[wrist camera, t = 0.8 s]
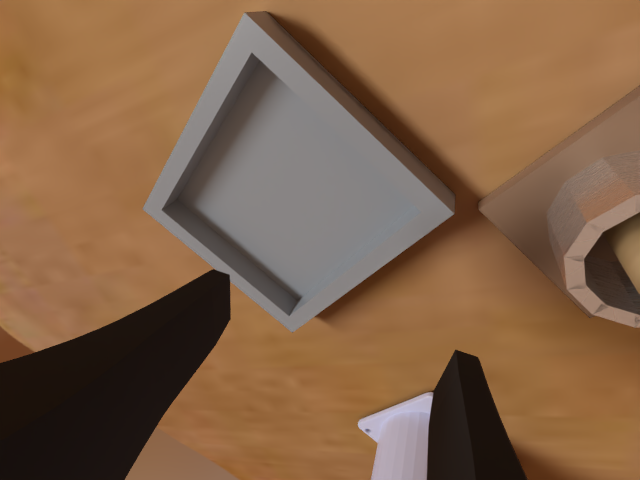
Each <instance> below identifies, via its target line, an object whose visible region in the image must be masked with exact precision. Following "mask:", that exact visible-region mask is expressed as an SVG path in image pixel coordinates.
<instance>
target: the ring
mask: <svg viewBox="0 0 640 480" xmlns="http://www.w3.org/2000/svg"><path fill="white" fill-rule="evenodd" d="M639 212H640V150H638V151H633V152H628V153H623V154H618V155H613V156H608V157H603V158H601V159H600V160H598V161H597V162H595V163H593V164H592V165H590V166H589V167H587V168H586V169H584V170H583V171H581V172H580V173H578V174H577V175H575V176H574V177H572V178H570V179H569V180H567V181H566V182H565V183H564V184H563V186H562V188H561V189H560V191H559V193H558V195H557V196H556V198H555V200H554V201H553V203H552V205H551V206H550V208H549V210H548V212H547V220H548V230H549V239H550V244H551V246H552V249H553V252H554V255H555V258H556V260H557V263H558V266H559V269H560V272H561V275H562V277H563V280H564V283H565V286H566V289H567V290H568V291H569V292H570V293H571V294H572V295H573V296H574V297H575V298H576V299H577V300H578V301H579V302H580V303H581V304H582V305H583V306H584V307H585V308H586V309H587V310H588V311H589V312H590V313H591V314H592V315H595V316H599V317H602V318H605V319H608V320H612V321H615V322H618V323H622V324H625V325H628V326H631V327H635V328H636V327H640V295H639V293H638V291H637V290H636V288H635V286H634V285H633V283H632V281H631V280H630V278H629V276H628V275H627V273H626V271H625V270H624V268H623V266H622V265H621V263H620V261H613V262H609V261H606V260H602V259H599V258H595V257H592V256H588V255H587V254H588V252H589V251H590V250H591V248H592V247H593V245H594V244H595V243H596V241H597V240H598V238H599V237H600V236H601V234H602V233H603V232H604V231H606V230H608V229H609V228H611V227H613V226H615V225H617V224H619V223H621V222H622V221H624V220H626V219H628V218H630V217H632V216H634V215H635V214H637V213H639Z"/></svg>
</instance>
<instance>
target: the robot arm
mask: <svg viewBox="0 0 640 480" xmlns="http://www.w3.org/2000/svg"><path fill="white" fill-rule="evenodd" d="M230 319H231V318H230V275H229V274H226V273H223V272H220V271H217V270H214V269H213V270H211V271H209V272H207V273H205V274H203V275H202V276H200V277H198V278H196V279H195V280H193V281H191V282H189V283H188V284H186V285H184V286H182V287H181V288H179V289H177V290H175V291H173V292H172V293H170V294H168V295H166V296H164V297H163V298H161V299H159V300H157V301H155V302H153V303H151V304H150V305H148V306H146V307H144V308H142V309H140V310H138V311H136V312H134V313H132V314H130V315H128V316H126V317H124V318H122V319H120V320H118V321H115V322H113V323H111V324H109V325H106V326H104V327H102V328H100V329H97V330H95V331H92V332H90V333H87V334H85V335H83V336H80V337H77V338H75V339H72V340H70V341H67V342H64V343H61V344H58V345H55V346H52V347H50V348H47V349H44V350H41V351H38V352H35V353H32V354H29V355H26V356H23V357H20V358H17V359H13V360H10V361H6V362H3V363H0V480H125V478H126V476H127V474H128V473H129V471H130V469H131V468H132V466H133V464H134V462H135V461H136V459H137V457H138V456H139V454H140V452H141V451H142V449H143V447H144V446H145V444H146V442H147V441H148V439H149V438H150V436H151V434H152V433H153V431H154V429H155V428H156V426H157V425H158V423H159V421H160V420H161V418H162V417H163V415H164V414H165V412H166V411H167V409H168V408H169V406H170V405H171V404H172V402H173V401H174V400H175V398H176V397H177V396H178V394H179V393H180V392H181V390H182V389H183V388H184V386H185V385H186V384H187V382H188V381H189V380H190V378H191V377H192V376H193V374H194V373H195V372H196V370H197V369H198V368H199V367H200V365H201V364H202V363H203V361H204V360H205V358H206V357H207V356H208V354H209V353H210V352H211V350H212V349H213V348H214V346H215V345H216V343H217V341H218V340H219V338H220V336H221V335H222V333H223V331H224V329H225V328H226V326H227V324H228V322H229V320H230ZM358 427H359V428H360V429H361V430H362V431H364V432H365V433H366V434H367V435H369V436H370V437H371V438H372V439H374V440H375V441H376V442H377V443H378V446H377V451H376V456H375V462H374V467H373V472H372V477H371V480H528V479H527V477H526V475H525V473H524V471H523V469H522V467H521V464H520V462H519V460H518V458H517V456H516V454H515V451H514V449H513V447H512V445H511V442H510V440H509V438H508V435H507V433H506V430H505V428H504V426H503V423H502V421H501V418H500V416H499V413H498V411H497V408H496V406H495V403H494V400H493V398H492V395H491V392H490V390H489V387H488V384H487V381H486V378H485V375H484V372H483V369H482V366H481V363H480V361H479V359H478V357H476V356H473V355H470V354H467V353H464V352H461V351H458V350H455V352H454V354H453V356H452V357H451V359H450V361H449V363H448V365H447V367H446V369H445V371H444V373H443V374H442V376H441V378H440V380H439V382H438V384H437V386H436V388H435V390H434V392H428V393H425V394H422V395H420V396H417V397H415V398H412V399H410V400H407V401H405V402H402V403H400V404H397V405H395V406H393V407H390V408H388V409H385V410H383V411H380V412H378V413H375V414H373V415H370V416H368V417H365V418H363V419H360V420H359V422H358Z"/></svg>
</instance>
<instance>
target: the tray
mask: <svg viewBox="0 0 640 480" xmlns="http://www.w3.org/2000/svg"><path fill="white" fill-rule="evenodd" d="M143 210H144V211H146V212H147V213H148V214H149V215H150V216H152V217H153V218H154V219H155V220H156V221H158V222H159V223H160V224H161V225H163V226H164V227H165V228H166V229H167V230H169V231H170V232H171V233H172V234H173V235H175V236H176V237H177V238H178V239H180V240H181V241H182V242H183V243H184V244H186V245H187V246H188V247H189V248H190V249H192V250H193V251H194V252H195V253H196V254H198V255H199V256H200V257H201V258H203V259H204V260H205V261H206V262H207V263H209V264H210V265H211V266H212V267H213V268H215V269H216V270H217V271H220V272H223V273H226V274H229V275H230V282H232V283H233V284H234V285H235V286H237V287H238V288H239V289H240V290H241V291H243V292H244V293H245V294H246V295H247V296H249V297H250V298H251V299H252V300H253V301H255V302H256V303H257V304H258V305H260V306H261V307H262V308H263V309H264V310H266V311H267V312H268V313H269V314H270V315H272V316H273V317H274V318H275V319H277V320H278V321H279V322H280V323H281V324H283V325H284V326H285V327H286V328H287V329H289V330H290V331H291V332H292V333H293V332H294V331H295V330H297V329H298V328H299V327H301V326H302V325H303V324H305V323H306V322H308V321H309V320H310V319H312V318H313V317H314V316H316V315H317V314H318V313H320V312H321V311H323V310H324V309H325V308H327V307H328V306H329V305H331V304H332V303H333V302H335V301H336V300H338V299H339V298H340V297H342V296H343V295H344V294H346V293H347V292H348V291H350V290H351V289H353V288H354V287H355V286H357V285H358V284H359V283H361V282H362V281H363V280H365V279H366V278H368V277H369V276H370V275H372V274H373V273H374V272H376V271H377V270H378V269H380V268H381V267H383V266H384V265H385V264H387V263H388V262H389V261H391V260H392V259H393V258H395V257H396V256H398V255H399V254H400V253H402V252H403V251H404V250H406V249H407V248H408V247H410V246H411V245H413V244H414V243H415V242H417V241H418V240H419V239H421V238H422V237H424V236H425V235H426V234H428V233H429V232H430V231H432V230H433V229H434V228H436V227H437V226H439V225H440V224H441V223H443V222H444V221H445V220H447V219H448V218H449V217H451V216H452V215H454V212H455V194H454V193H453V192H452V191H451V190H450V189H449V188H448V187H447V186H446V185H445V184H444V183H443V182H442V181H441V180H440V179H439V178H437V177H436V176H435V175H434V174H433V173H432V172H431V171H430V170H429V169H428V168H427V167H426V166H425V165H424V164H423V163H422V162H421V161H420V160H419V159H418V158H417V157H416V156H415V155H414V154H413V153H412V152H411V151H410V150H409V149H408V148H407V147H406V146H404V145H403V144H402V143H401V142H400V141H399V140H398V139H397V138H396V137H395V136H394V135H393V134H392V133H391V132H390V131H389V130H388V129H387V128H386V127H385V126H384V125H383V124H382V123H381V122H380V121H379V120H378V119H377V118H376V117H375V116H374V115H373V114H371V113H370V112H369V111H368V110H367V109H366V108H365V107H364V106H363V105H362V104H361V103H360V102H359V101H358V100H357V99H356V98H355V97H354V96H353V95H352V94H351V93H350V92H349V91H348V90H347V89H346V88H345V87H344V86H343V85H342V84H341V83H340V82H339V81H337V80H336V79H335V78H334V77H333V76H332V75H331V74H330V73H329V72H328V71H327V70H326V69H325V68H324V67H323V66H322V65H321V64H320V63H319V62H318V61H317V60H316V59H315V58H314V57H313V56H312V55H311V54H310V53H309V52H308V51H307V50H306V49H304V48H303V47H302V46H301V45H300V44H299V43H298V42H297V41H296V40H295V39H294V38H293V37H292V36H291V35H290V34H289V33H288V32H287V31H286V30H285V29H284V28H283V27H282V26H281V25H280V24H279V23H278V22H277V21H276V20H275V19H274V18H273V17H271V16H270V15H269V14H268V13H267V12H266V11H262V12H245V13H244V15H243V16H242V18H241V20H240V22H239V24H238V26H237V28H236V30H235V32H234V34H233V36H232V38H231V40H230V42H229V43H228V45H227V47H226V49H225V51H224V53H223V55H222V57H221V59H220V61H219V63H218V65H217V67H216V68H215V70H214V72H213V74H212V76H211V78H210V80H209V82H208V84H207V86H206V88H205V90H204V92H203V94H202V95H201V97H200V99H199V101H198V103H197V105H196V107H195V109H194V111H193V113H192V115H191V117H190V119H189V120H188V122H187V124H186V126H185V128H184V130H183V132H182V134H181V136H180V138H179V140H178V142H177V144H176V146H175V147H174V149H173V151H172V153H171V155H170V157H169V159H168V161H167V163H166V165H165V167H164V169H163V171H162V173H161V174H160V176H159V178H158V180H157V182H156V184H155V186H154V188H153V190H152V192H151V194H150V196H149V198H148V199H147V201H146V203H145V205H144V207H143Z"/></svg>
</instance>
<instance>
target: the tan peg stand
mask: <svg viewBox="0 0 640 480" xmlns="http://www.w3.org/2000/svg"><path fill="white" fill-rule="evenodd" d="M638 150H640V86H639V87H637V88H636V89H634V90H633V91H632V92H630V93H629V94H627V95H626V96H625V97H623V98H622V99H621V100H619V101H618V102H616V103H615V104H614V105H612V106H611V107H609V108H608V109H607V110H605V111H604V112H603V113H601V114H600V115H598V116H597V117H596V118H594V119H593V120H591V121H590V122H589V123H587V124H586V125H585V126H583V127H582V128H580V129H579V130H578V131H576V132H575V133H573V134H572V135H571V136H569V137H568V138H567V139H565V140H564V141H562V142H561V143H560V144H558V145H557V146H555V147H554V148H553V149H551V150H550V151H549V152H547V153H546V154H544V155H543V156H542V157H540V158H539V159H537V160H536V161H535V162H533V163H532V164H530V165H529V166H528V167H526V168H525V169H524V170H522V171H521V172H519V173H518V174H517V175H515V176H514V177H512V178H511V179H510V180H508V181H507V182H506V183H504V184H503V185H501V186H500V187H499V188H497V189H496V190H494V191H493V192H492V193H490V194H489V195H488V196H486V197H485V198H483V199H482V200H481V201H479V202H478V207H479V211H480V212H481V213H482V214H483V215H484V216H486V217H487V218H488V219H489V220H490V221H491V222H492V223H493V224H494V225H495V226H496V227H497V228H498V229H499V230H500V231H501V232H502V233H503V234H504V235H505V236H506V237H507V238H508V239H509V240H510V241H511V242H512V243H513V244H514V245H515V246H516V247H517V248H518V249H519V250H520V251H521V252H522V253H523V254H525V255H526V256H527V257H528V258H529V259H530V260H531V261H532V262H533V263H534V264H535V265H536V266H537V267H538V268H539V269H540V270H541V271H542V272H543V273H544V274H545V275H546V276H547V277H548V278H549V279H550V280H551V281H552V282H553V283H554V284H555V285H556V286H557V287H558V288H559V289H560V290H561V291H562V292H564V293H565V294H566V295H567V296H568V297H569V298H570V299H571V300H572V301H573V302H574V303H575V304H576V305H577V306H578V307H579V308H580V309H581V310H582V311H583V312H584V313H585V314H586V315H587V316H588V317H589V318H592V317H594V316H595V315H592V314H591V313H590V312H589V311H588V310H587V309H586V308H585V307H584V306H583V305H582V304H581V303H580V302H579V301H578V300H577V299H576V298H575V297H574V296H573V295H572V294H571V293H570V292H569V291H568V290H567V289H566V286H565V283H564V280H563V277H562V275H561V272H560V269H559V266H558V263H557V260H556V258H555V255H554V252H553V249H552V246H551V244H550V239H549V230H548V220H547V212H548V210H549V208H550V206H551V205H552V203H553V201H554V200H555V198H556V196H557V195H558V193H559V191H560V189H561V188H562V186H563V184H564V183H565V182H566V181H567V180H569V179H570V178H572V177H574V176H575V175H577V174H578V173H580V172H581V171H583V170H584V169H586V168H587V167H589V166H590V165H592V164H593V163H595V162H597V161H598V160H600V159H601V158H603V157H608V156H613V155H618V154H623V153H628V152H633V151H638ZM587 255H588V256H592V257H595V258H599V259H602V260H606V261H609V262H613V261H620V263H621V265H622V266H623V268H624V270H625V271H626V273H627V275H628V276H629V278H630V280H631V281H632V283H633V285H634V286H635V288H636V290H637V291H638V293H639V295H640V212H639V213H637V214H635V215H634V216H632V217H630V218H628V219H626V220H624V221H622V222H621V223H619V224H617V225H615V226H613V227H611V228H609V229H608V230H606V231H604V232H603V233H602V234H601V236H600V237H599V238H598V240H597V241H596V243H595V244H594V245H593V247H592V248H591V250H590V251H589V252H588V254H587Z"/></svg>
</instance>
